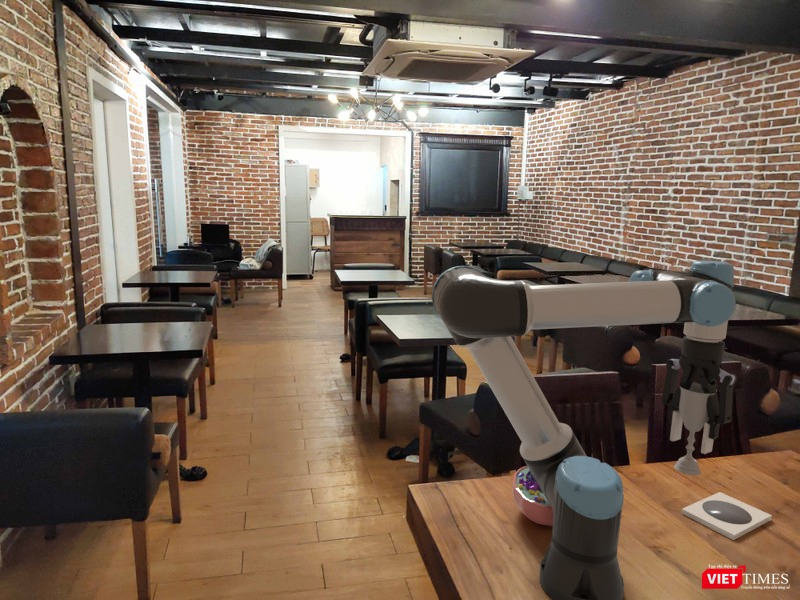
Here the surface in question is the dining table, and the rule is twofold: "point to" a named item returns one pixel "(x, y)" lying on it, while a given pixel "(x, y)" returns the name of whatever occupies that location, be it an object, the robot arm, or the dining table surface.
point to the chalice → (692, 424)
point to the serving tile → (726, 515)
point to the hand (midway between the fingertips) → (690, 445)
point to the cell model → (531, 498)
